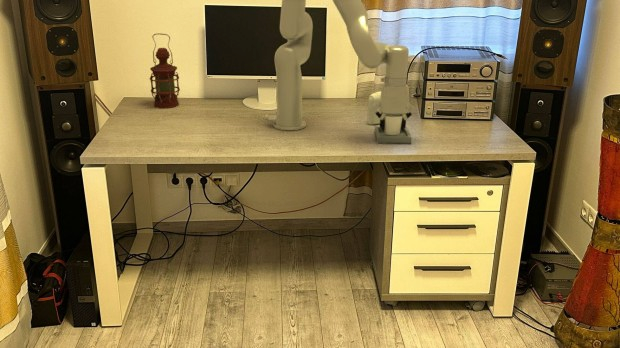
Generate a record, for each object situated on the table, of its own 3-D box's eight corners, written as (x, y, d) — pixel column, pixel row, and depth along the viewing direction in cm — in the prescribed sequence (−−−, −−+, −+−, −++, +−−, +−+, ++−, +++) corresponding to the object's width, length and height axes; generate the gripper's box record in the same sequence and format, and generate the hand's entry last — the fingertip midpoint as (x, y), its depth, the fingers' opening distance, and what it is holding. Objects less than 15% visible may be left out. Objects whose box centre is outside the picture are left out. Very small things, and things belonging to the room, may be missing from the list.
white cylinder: (396, 136, 227) (398, 118, 224) (379, 133, 230) (380, 114, 228) (404, 131, 232) (406, 113, 230) (387, 128, 236) (388, 110, 233)
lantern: (185, 102, 274) (181, 31, 262) (173, 110, 263) (168, 36, 251) (159, 100, 276) (153, 30, 265) (146, 107, 265) (140, 35, 254)
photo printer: (385, 118, 254) (387, 88, 250) (392, 121, 251) (394, 91, 246) (365, 123, 249) (366, 92, 244) (372, 125, 246) (373, 94, 241)
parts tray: (377, 143, 226) (377, 137, 225) (374, 133, 238) (374, 126, 237) (411, 144, 226) (411, 137, 226) (406, 133, 238) (406, 127, 237)
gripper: (372, 83, 221) (369, 132, 227) (421, 84, 221) (417, 133, 227) (370, 78, 227) (367, 126, 234) (418, 79, 228) (414, 126, 234)
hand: (392, 129), depth 231 cm, fingers open, 6 cm apart
